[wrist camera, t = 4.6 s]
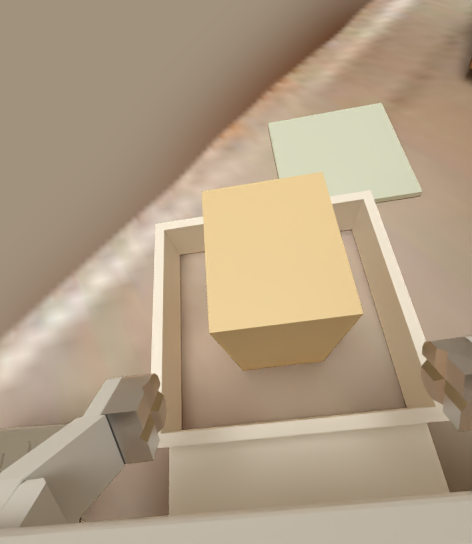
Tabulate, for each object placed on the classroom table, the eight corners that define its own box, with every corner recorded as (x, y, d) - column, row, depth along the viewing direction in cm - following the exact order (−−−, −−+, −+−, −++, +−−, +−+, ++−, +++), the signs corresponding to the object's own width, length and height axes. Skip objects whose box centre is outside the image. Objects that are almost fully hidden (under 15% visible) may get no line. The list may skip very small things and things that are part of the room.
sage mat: (379, 107, 27) (381, 102, 26) (419, 196, 22) (422, 191, 22) (268, 127, 28) (268, 123, 27) (286, 216, 23) (286, 212, 23)
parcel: (304, 273, 21) (322, 171, 12) (323, 361, 18) (363, 313, 10) (234, 283, 21) (201, 191, 13) (243, 370, 19) (209, 332, 10)
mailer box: (357, 221, 22) (370, 189, 19) (552, 823, 11) (665, 993, 8) (172, 249, 23) (155, 223, 20) (171, 820, 12) (132, 965, 9)
